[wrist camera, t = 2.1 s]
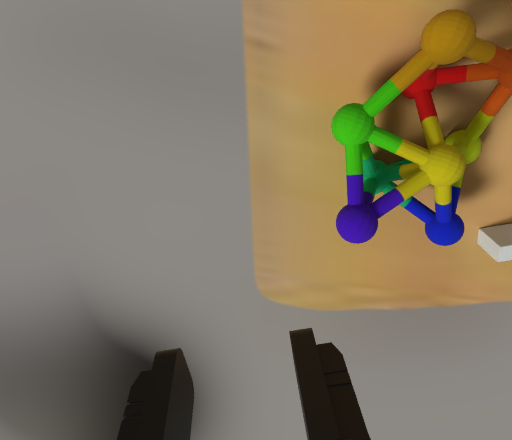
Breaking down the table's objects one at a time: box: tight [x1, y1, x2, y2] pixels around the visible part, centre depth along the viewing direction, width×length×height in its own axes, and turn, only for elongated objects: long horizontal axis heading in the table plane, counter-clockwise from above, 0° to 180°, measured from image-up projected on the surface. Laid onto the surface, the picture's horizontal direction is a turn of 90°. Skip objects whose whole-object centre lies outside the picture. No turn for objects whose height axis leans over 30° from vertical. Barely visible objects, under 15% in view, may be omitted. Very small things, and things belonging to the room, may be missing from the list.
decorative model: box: [331, 10, 512, 246], centre depth 26 cm, size 13×9×15 cm
